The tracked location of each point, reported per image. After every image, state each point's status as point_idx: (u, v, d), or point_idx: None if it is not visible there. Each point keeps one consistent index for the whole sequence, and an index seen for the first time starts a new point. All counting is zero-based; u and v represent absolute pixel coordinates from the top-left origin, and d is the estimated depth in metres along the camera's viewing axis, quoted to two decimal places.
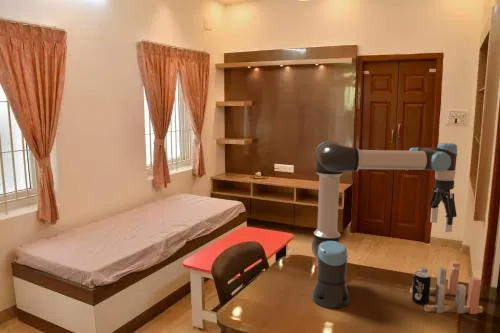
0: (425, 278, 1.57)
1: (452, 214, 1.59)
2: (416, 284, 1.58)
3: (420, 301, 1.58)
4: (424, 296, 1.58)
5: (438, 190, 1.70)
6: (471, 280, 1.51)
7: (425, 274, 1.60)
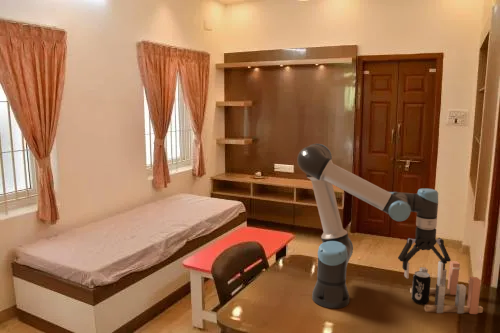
0: (425, 278, 1.57)
1: (399, 257, 1.59)
2: (416, 284, 1.58)
3: (420, 301, 1.58)
4: (424, 296, 1.58)
5: None
6: (471, 280, 1.51)
7: (425, 274, 1.60)
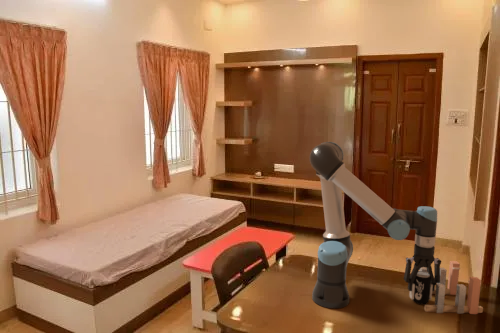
0: (425, 278, 1.57)
1: (404, 278, 1.61)
2: (416, 284, 1.58)
3: (420, 301, 1.58)
4: (424, 296, 1.58)
5: None
6: (471, 280, 1.51)
7: (425, 274, 1.60)
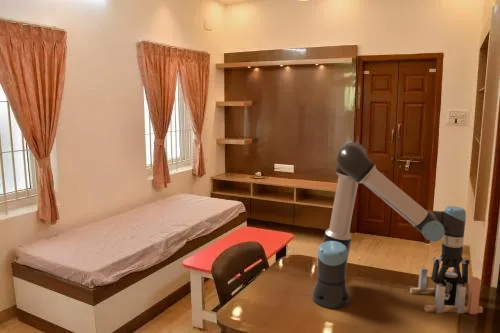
0: (453, 278, 1.57)
1: (432, 278, 1.60)
2: (444, 285, 1.58)
3: (448, 301, 1.58)
4: (452, 296, 1.57)
5: None
6: (471, 280, 1.51)
7: (453, 274, 1.60)
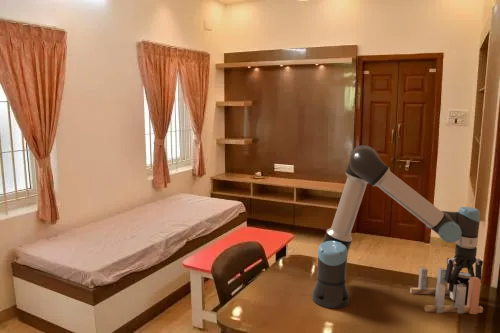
0: (467, 278, 1.57)
1: (445, 279, 1.60)
2: None
3: None
4: (466, 297, 1.57)
5: None
6: (471, 280, 1.51)
7: (466, 275, 1.60)
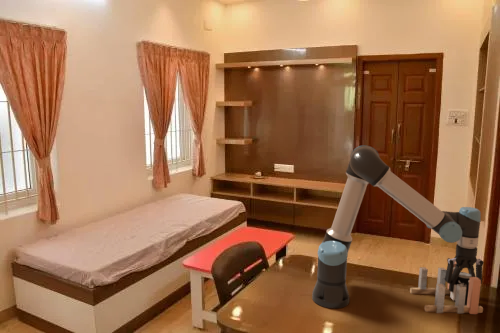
0: (467, 278, 1.57)
1: (446, 279, 1.60)
2: None
3: None
4: (466, 297, 1.57)
5: None
6: (471, 280, 1.51)
7: (467, 275, 1.60)
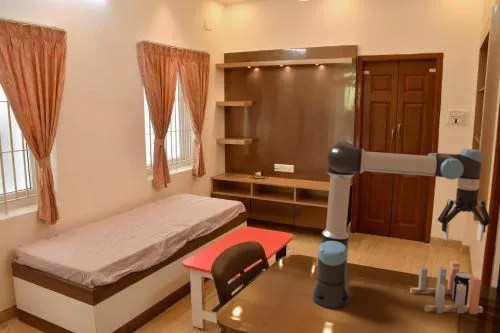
0: (467, 278, 1.57)
1: (439, 218, 1.57)
2: None
3: None
4: (466, 297, 1.57)
5: None
6: (471, 280, 1.51)
7: (466, 275, 1.60)
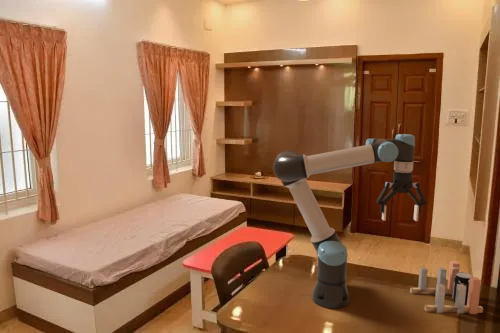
0: (467, 278, 1.57)
1: (377, 200, 1.66)
2: None
3: None
4: (466, 297, 1.57)
5: None
6: (471, 280, 1.51)
7: (466, 275, 1.60)
